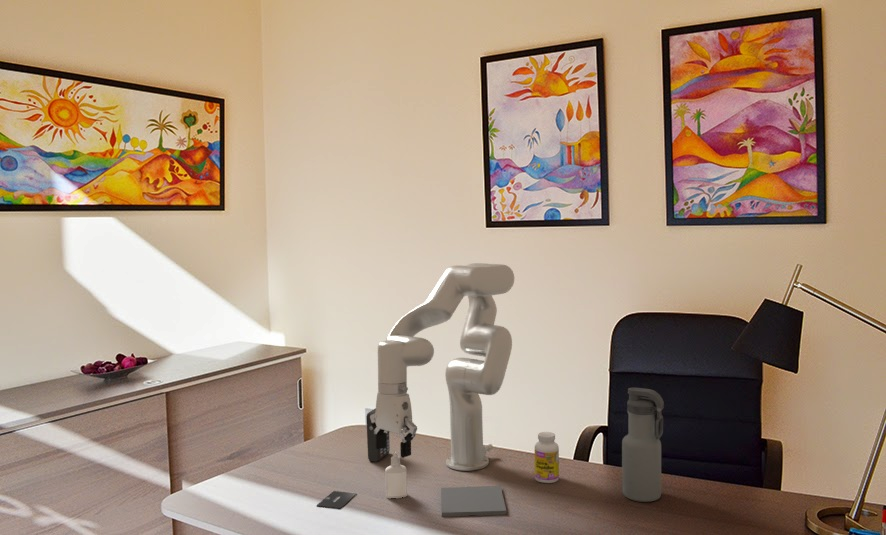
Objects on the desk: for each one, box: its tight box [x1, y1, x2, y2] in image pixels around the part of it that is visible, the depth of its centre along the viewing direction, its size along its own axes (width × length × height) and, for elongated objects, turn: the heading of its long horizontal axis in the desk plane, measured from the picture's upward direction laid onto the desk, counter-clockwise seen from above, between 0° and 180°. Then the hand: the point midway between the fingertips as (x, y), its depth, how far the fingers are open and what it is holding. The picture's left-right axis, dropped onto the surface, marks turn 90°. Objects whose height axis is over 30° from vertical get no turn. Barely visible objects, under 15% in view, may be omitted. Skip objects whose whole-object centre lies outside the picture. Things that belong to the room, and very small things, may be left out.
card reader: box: [365, 407, 391, 462], centre depth 225 cm, size 9×4×15 cm, turn 159°
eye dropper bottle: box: [384, 451, 408, 499], centre depth 195 cm, size 4×6×12 cm
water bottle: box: [621, 387, 665, 503], centre depth 190 cm, size 10×10×28 cm
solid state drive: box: [316, 490, 357, 510], centre depth 194 cm, size 7×10×1 cm
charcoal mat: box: [440, 485, 507, 517], centre depth 190 cm, size 16×16×1 cm
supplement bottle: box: [534, 431, 560, 484], centre depth 204 cm, size 7×7×13 cm
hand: (393, 452), depth 194 cm, fingers open, 9 cm apart
